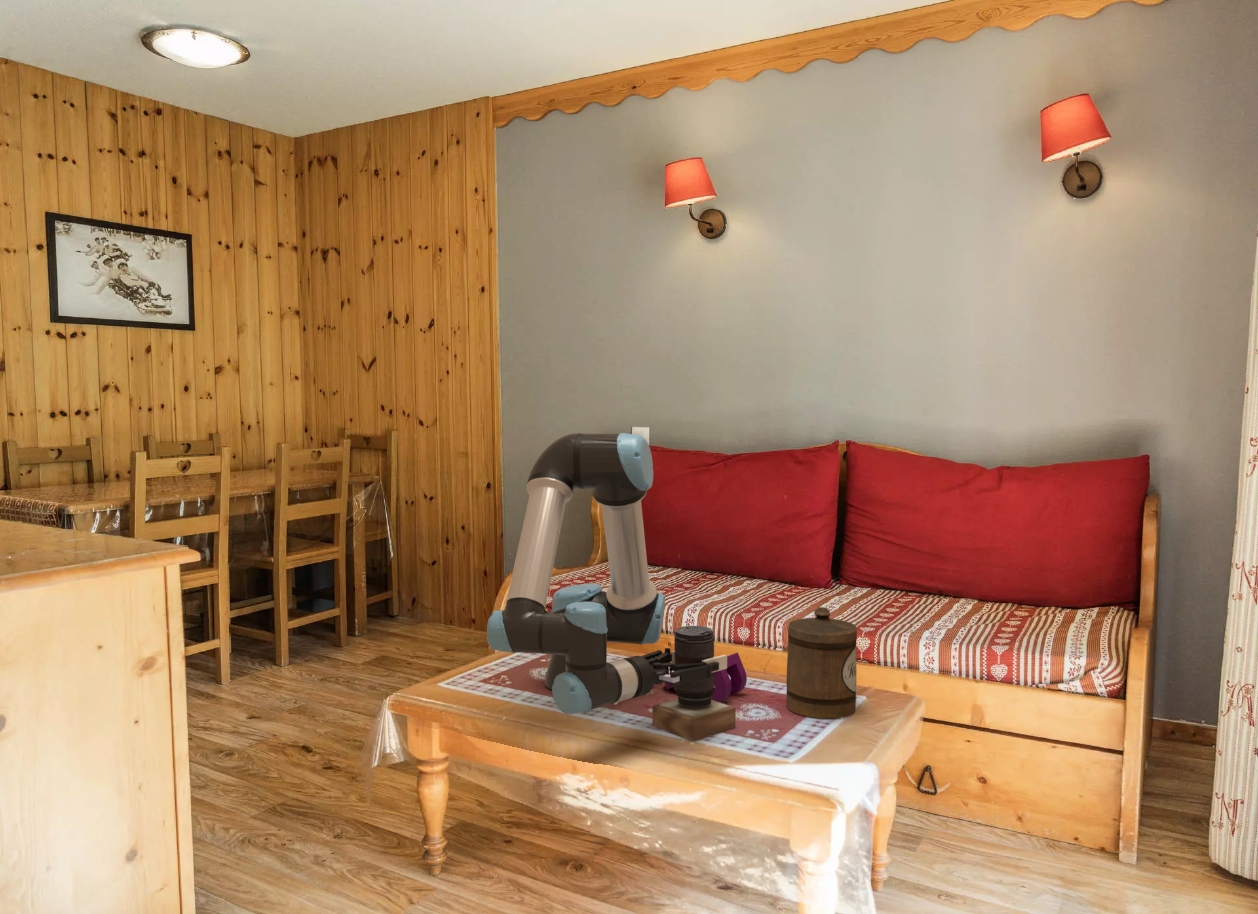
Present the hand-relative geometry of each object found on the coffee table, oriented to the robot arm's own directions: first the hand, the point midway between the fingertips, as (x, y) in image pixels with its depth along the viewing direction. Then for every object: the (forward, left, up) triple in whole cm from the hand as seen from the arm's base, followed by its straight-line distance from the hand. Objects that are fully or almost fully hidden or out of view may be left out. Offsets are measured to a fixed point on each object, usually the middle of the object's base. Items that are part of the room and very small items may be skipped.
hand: (710, 657), depth 182 cm
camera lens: (0, -5, -9) cm, 10 cm away
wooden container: (+10, +24, -14) cm, 30 cm away
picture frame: (0, -5, -13) cm, 14 cm away
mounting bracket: (-14, +12, -14) cm, 23 cm away
